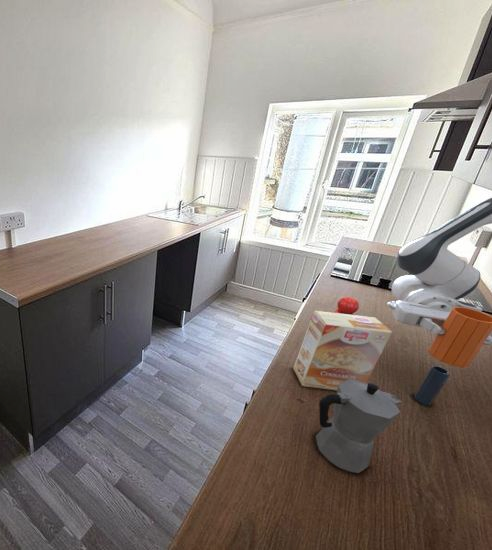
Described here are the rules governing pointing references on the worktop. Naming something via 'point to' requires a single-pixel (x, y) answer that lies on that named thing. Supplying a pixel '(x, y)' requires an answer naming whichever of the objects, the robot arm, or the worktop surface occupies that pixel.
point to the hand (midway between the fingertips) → (464, 337)
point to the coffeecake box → (339, 349)
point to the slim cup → (431, 385)
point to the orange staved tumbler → (461, 337)
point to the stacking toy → (347, 306)
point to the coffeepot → (354, 423)
